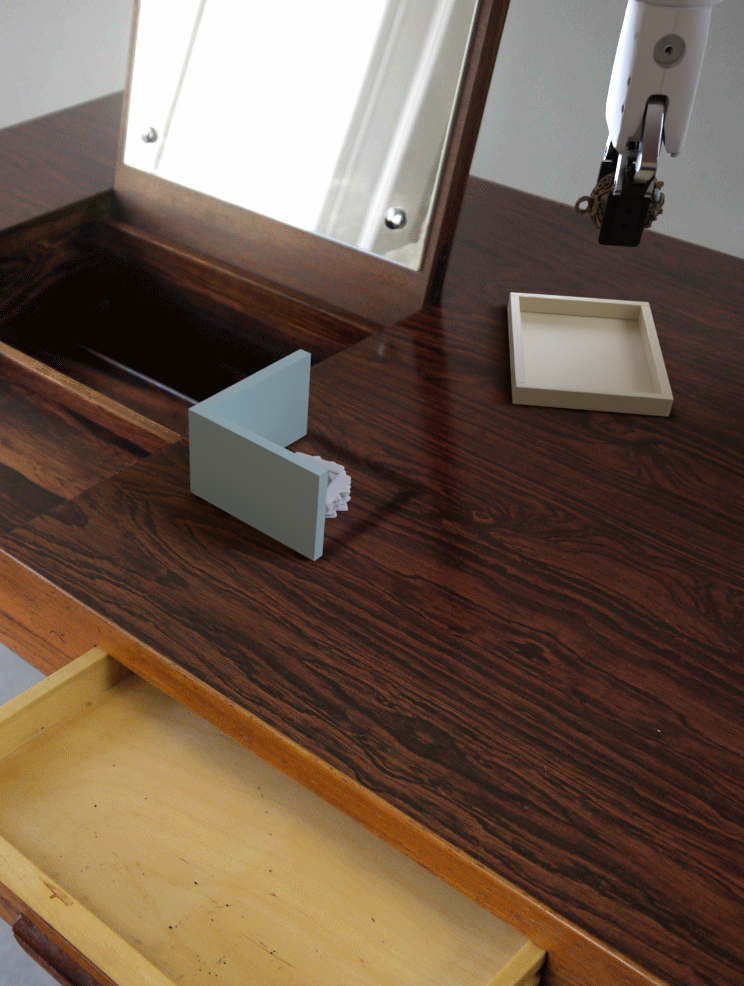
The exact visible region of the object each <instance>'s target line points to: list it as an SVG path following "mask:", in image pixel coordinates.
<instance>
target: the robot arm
mask: <svg viewBox="0 0 744 986" xmlns="http://www.w3.org/2000/svg"><path fill="white" fill-rule="evenodd" d="M724 2H725V0H628V1H627V6H626V8H625V14H624V18H623V22H622V27H621V31H620V35H619V39H618V42H617V43H618V44H617V48H616V53H615V58H614V62H613V67H612V71H611V75H610V82H609V86H608V94H607V97H606V98H607V99H606V104H605V105H606V106H605V119H606V125H607V129H608V132H609V134H608V138H607V141H606V145H605V148H604V152H603V160H604V161H603V160H601V161H600V165H599V166H600V167H599V170H598V173H597V174H598V175H597V179H596V183H595V186H596V185H597V183H598V182H599V181H600V180H601V179H602V178H604V177H605V176H606V175H608V174H610V173H613V172H615V171H616V175H615V181H614V186H613V191H609V190H608V194H607V199H606V203H605V207H604V212H603V216H602V220H601V225H600V229H598V233H597V243H598V244H599V245H601V246H613V247H623V248H624V247H625V248H626V247H627V248H637V247H638V246H639V245H640V244H641V240H642V237H643V236H642V235H643V234H644V233H643V229H644V230H645V228H644V225H645V221H646V217H647V214H648V210H649V206H650V202H651V198H652V192H653V187H654V182H655V177H656V178H657V171H658V166H659V161H660V157H661V156H660V155H661V150H662V144H663V146H664V148H665V151H666V153H667V154H668V155H669V157H670V158H676V157H678V156H680V155H681V154H682V152H683V151H684V147H685V143H686V140H687V134H688V130H689V126H690V122H691V117H692V114H693V109H694V104H695V99H696V96H697V90H698V87H699V81H700V77H701V73H702V69H703V63H704V59H705V55H706V49H707V43H708V38H709V33H710V26H711V18H712V10H713V6H715V5H719V4H722V3H724ZM626 169H627V173H626ZM625 173H626V174H625Z"/></svg>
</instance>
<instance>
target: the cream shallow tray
mask: <svg viewBox="0 0 744 986" xmlns="http://www.w3.org/2000/svg"><path fill="white" fill-rule="evenodd" d="M507 325H508V343H509V362H510V376H511V377H510V379H511V380H510V381H511V394H512V395H511V399H512V401H511V402H512V404H515V405H526V406H527V405H528V406H537V407H550V408H560V409H562V408H564V409H573V410H587V411H598V412H599V411H600V412H610V413H623V414H636V415H647V416H659V417H669V416H670V413H671V410H672V406H673V403H674V396H673V392H672V387H671V383H670V380H669V376H668V373H667V369H666V365H665V360H664V356H663V353H662V349H661V345H660V341H659V337H658V333H657V329H656V326H655V322H654V316H653V314H652V309H651V306H650V302H648V301H639V300H638V301H637V300H622V299H610V298H596V297H583V296H569V295H554V294H553V295H552V294H541V293H527V292H514V291H513V292H512V291H511V292H510V293H509V298H508V302H507Z"/></svg>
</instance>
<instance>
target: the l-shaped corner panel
mask: <svg viewBox="0 0 744 986" xmlns="http://www.w3.org/2000/svg"><path fill="white" fill-rule="evenodd" d="M311 359H312V353H311V352H309V351H305V350H304V349H301V348H299V349H298V350H296V351H294V352H291V354H289V355H286V356H284V357H283V358H281V359H278V360H277V361H275V362H273V363H272V364H270V365H268V366H266V367H264V368H262V369H260V370H259V371H256V372H255V373H253V374H251V375H249V376H247V377H245V378H243V379H242V380H240V381H238V382H235V383H234V384H232V385H231V386H228V387H226V388H225V389H223V390H221V391H219V392H217V393H216V394H214V395H212V396H209V397H208V398H206V399H203V400H202V401H200V402H199V403H197V404H194V405H193V406H190V407H189V408H188V409H187V411H188V413H187V414H188V441H189V443H188V448H189V450H188V451H189V452H188V453H189V483H190V486H189V488H190V493H191V494H193V495H195V496H197V497H199V498H201V499H202V500H204V501H206V502H208V503H209V504H212V505H213V506H215V507H217V508H218V509H220V510H222V511H224V512H226V513H227V514H229V515H231V516H232V517H234V518H236V519H237V520H240V521H242V522H243V523H245V524H247V525H249V526H251V527H252V528H254V529H256V530H258V531H260V532H261V533H263V534H264V535H267V536H268V537H270V538H271V539H273V540H275V541H277V542H279V543H281V544H282V545H284V546H287V547H288V548H289V549H291V550H293V551H294V552H297V553H298V554H300V555H302V556H304V557H306V558H308V559H310V560H311V561H313V562H315V561H317V560H318V559H319V558H321V557H322V556H323V551H324V537H325V536H324V535H325V524H326V519H335V518H337V516H338V514H337V512H342V511H343V512H345V511H348V510H349V507H348V502H350V501H351V498H352V497H351V496H350V494H351V490H350V489H351V488H352V485H351V484H352V477H351V476H350V475H348V474H347V471H346V470H345V466H344V465H341V464H339V463H336V462H335V461H329V460H326V459H322V457H321V456H320V455H313V456H312V455H309V454H306V453H303V452H300V451H295V452H293V451H290V449H287V448H286V447H288V446H289V445H290V446H291V444H293V443H294V442H296V441H298V440H299V439H301V438H303V437H305V436H306V435H307V433H308V417H309V415H308V413H309V398H310V397H309V396H310V380H311V379H310V378H311Z"/></svg>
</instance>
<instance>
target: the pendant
mask: <svg viewBox="0 0 744 986" xmlns="http://www.w3.org/2000/svg"><path fill="white" fill-rule="evenodd" d="M626 173H627V169H626ZM626 173H625V174H626ZM615 175H616V171H615V172H613V173H610V174H608V175H606V176H605V177H604V178H602V179H601V180H600V181H599V182H598V183H597V182H596V183H597V185H596V184H595V186H594V187H593V189H592V191H591V193H590V195H583V196H580V197H579V198H577V200H576V202H575V203H574V210H575V213H576V214H577V215H581V216H582V215H587V214H588V216H589V219H590V221H591V222H592V223H593V225H594V226H595V227H596V228H597V229H598V230H599V229H600V225H601V220H602V216H603V212H604V207H605V203H606V199H607V194H608V190H609V191H613V186H614V181H615ZM664 186H665V182H664V181H663V180H658V178H657V176H656V177H655V182H654V187H653V192H652V198H651V202H650V206H649V210H648V214H647V217H646V221H645V225H644V229H643V233H642V234H644V233H645V229H650V228H652V227H653V222H656V221H658V216H659V215H663V214H664V208H663V207H664V205H665V200H666V197H665V196H666V195H665V194H664V193H663V192H661V190H662V188H663V187H664ZM583 202H587V206H586V207H585V209H581V208H580V204H581V203H583Z"/></svg>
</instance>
